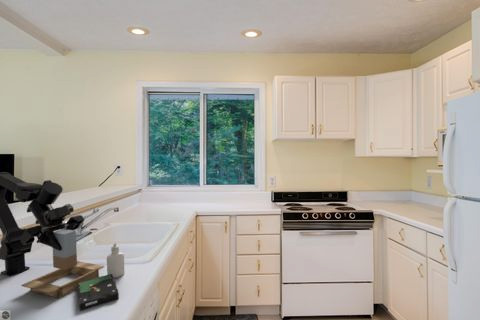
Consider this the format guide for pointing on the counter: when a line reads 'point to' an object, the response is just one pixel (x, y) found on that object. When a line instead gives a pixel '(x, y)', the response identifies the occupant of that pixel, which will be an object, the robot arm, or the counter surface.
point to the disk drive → (97, 292)
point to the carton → (81, 268)
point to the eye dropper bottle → (115, 262)
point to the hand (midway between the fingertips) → (67, 247)
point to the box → (65, 249)
